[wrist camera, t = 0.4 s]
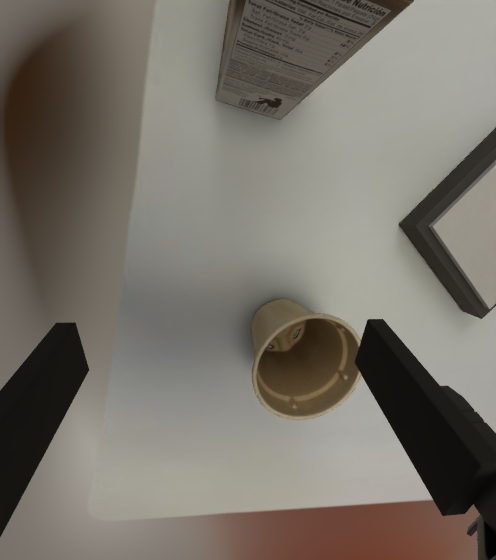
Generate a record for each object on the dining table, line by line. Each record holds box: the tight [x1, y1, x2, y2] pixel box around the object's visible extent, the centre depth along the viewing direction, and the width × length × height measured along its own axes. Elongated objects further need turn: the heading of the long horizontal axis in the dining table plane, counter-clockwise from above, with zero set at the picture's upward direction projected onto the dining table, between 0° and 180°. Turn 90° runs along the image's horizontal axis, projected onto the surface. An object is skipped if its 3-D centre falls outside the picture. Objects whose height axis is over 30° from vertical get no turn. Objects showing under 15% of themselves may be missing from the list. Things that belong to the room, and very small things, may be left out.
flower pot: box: [251, 299, 361, 420], centre depth 26 cm, size 9×9×9 cm
